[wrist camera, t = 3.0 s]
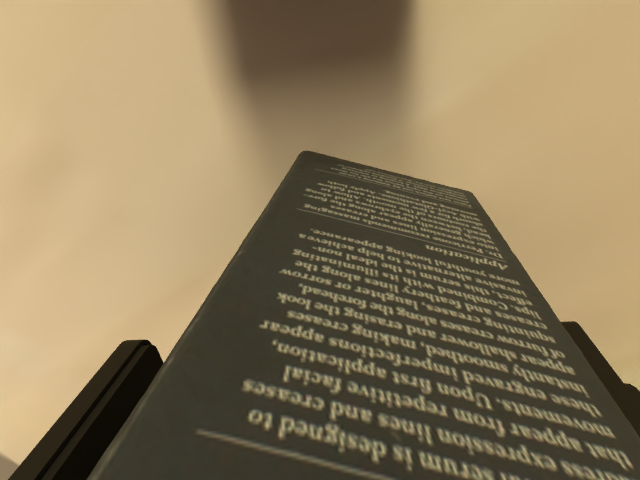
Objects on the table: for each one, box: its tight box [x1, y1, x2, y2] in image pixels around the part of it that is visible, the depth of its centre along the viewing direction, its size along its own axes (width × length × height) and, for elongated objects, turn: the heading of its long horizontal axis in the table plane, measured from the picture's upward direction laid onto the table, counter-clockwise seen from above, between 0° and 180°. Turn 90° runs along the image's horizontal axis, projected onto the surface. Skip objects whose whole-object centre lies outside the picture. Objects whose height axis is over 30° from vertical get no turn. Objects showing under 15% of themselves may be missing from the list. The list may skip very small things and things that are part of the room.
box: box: [87, 151, 640, 480], centre depth 9 cm, size 8×6×11 cm
